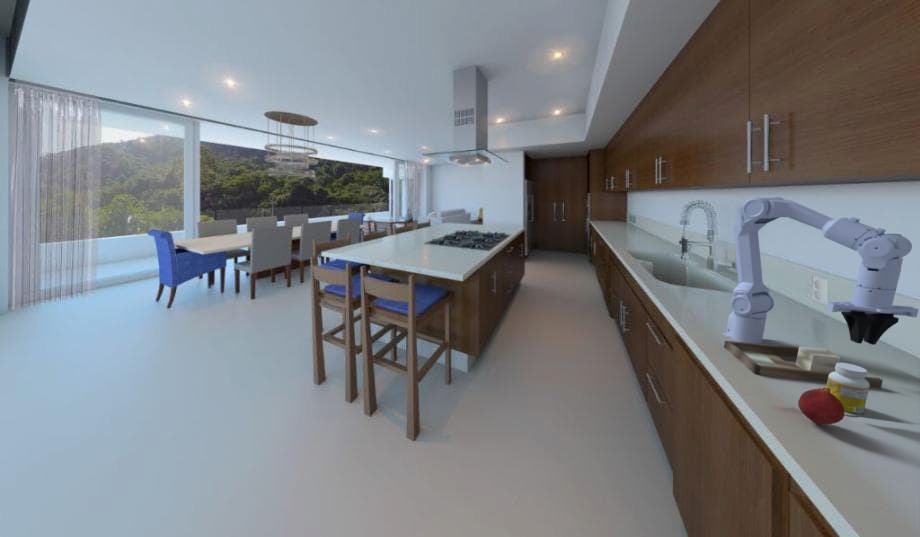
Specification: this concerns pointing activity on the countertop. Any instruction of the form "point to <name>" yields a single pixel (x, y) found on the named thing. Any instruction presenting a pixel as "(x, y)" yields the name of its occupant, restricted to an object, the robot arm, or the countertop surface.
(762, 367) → the wooden tray
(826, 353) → the cream cube
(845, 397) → the supplement bottle
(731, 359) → the countertop surface
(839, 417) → the red oval lump
